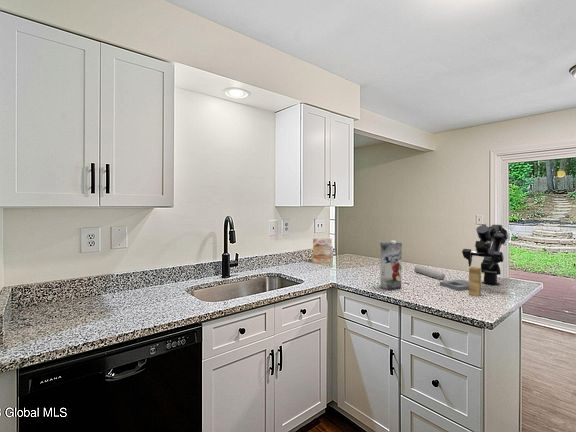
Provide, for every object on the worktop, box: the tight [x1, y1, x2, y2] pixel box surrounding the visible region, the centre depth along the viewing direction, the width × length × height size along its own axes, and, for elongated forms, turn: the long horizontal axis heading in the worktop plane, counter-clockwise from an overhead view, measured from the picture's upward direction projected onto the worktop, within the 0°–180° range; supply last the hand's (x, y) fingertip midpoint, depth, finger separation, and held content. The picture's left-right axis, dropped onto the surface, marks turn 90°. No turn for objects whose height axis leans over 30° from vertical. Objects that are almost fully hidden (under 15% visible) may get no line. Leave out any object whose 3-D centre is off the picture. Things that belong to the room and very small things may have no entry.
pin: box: [468, 266, 482, 297], centre depth 159 cm, size 4×4×14 cm
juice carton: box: [379, 240, 403, 291], centre depth 173 cm, size 9×10×27 cm
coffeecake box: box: [312, 237, 333, 264], centre depth 254 cm, size 15×7×20 cm, turn 81°
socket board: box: [439, 279, 469, 292], centre depth 175 cm, size 16×13×2 cm
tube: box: [413, 264, 446, 281], centre depth 202 cm, size 5×5×25 cm
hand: (479, 267), depth 164 cm, fingers open, 9 cm apart
